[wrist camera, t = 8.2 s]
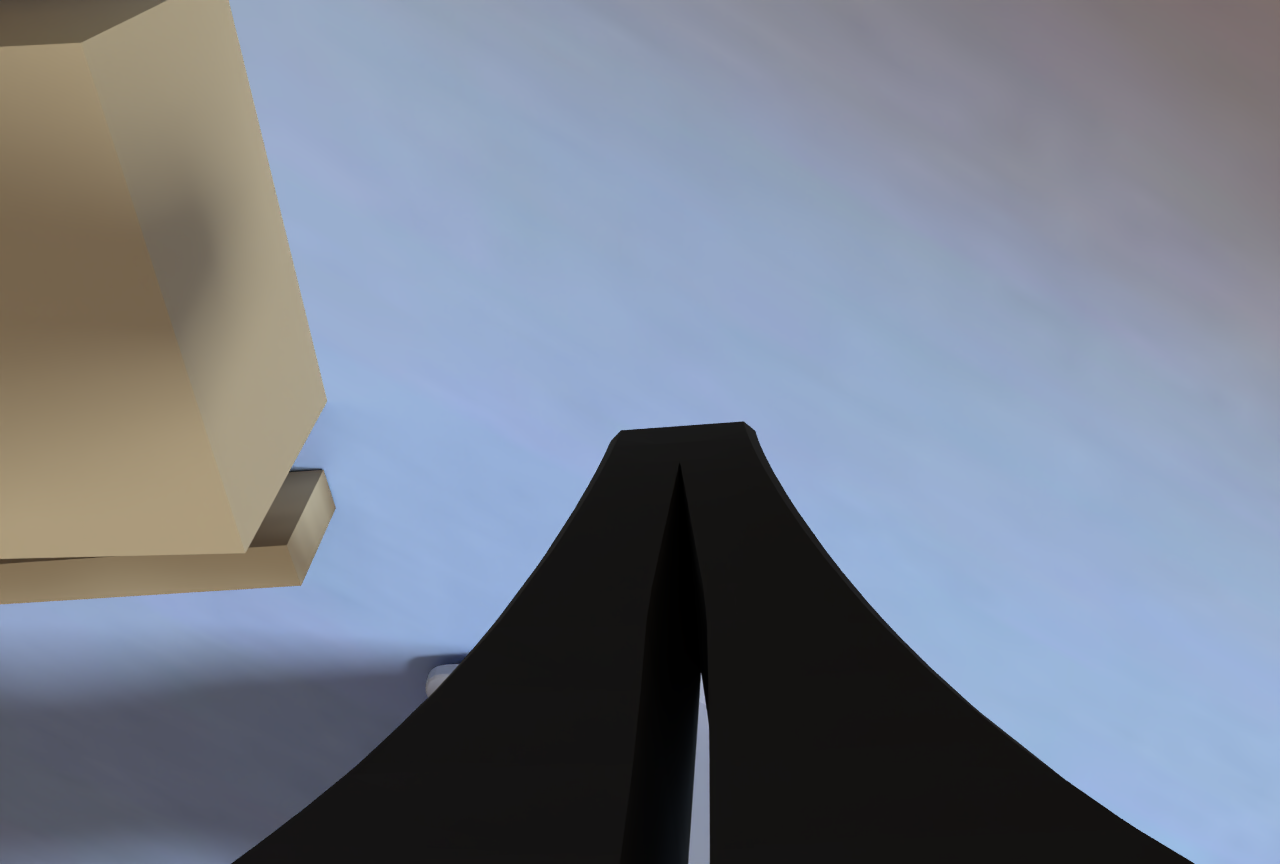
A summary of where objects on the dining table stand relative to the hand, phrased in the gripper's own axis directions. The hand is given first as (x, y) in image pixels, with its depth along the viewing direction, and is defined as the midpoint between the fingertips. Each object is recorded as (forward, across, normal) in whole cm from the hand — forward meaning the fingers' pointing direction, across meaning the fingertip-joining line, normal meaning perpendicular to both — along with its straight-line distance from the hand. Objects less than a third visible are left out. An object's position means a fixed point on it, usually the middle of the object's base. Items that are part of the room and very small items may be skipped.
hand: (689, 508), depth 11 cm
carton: (+10, +11, 0) cm, 15 cm away
